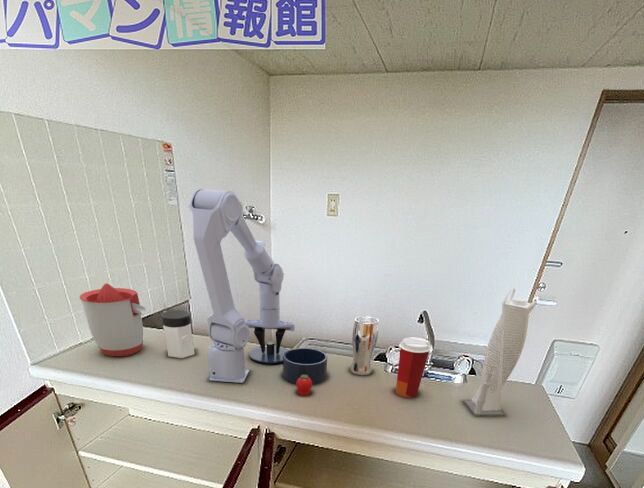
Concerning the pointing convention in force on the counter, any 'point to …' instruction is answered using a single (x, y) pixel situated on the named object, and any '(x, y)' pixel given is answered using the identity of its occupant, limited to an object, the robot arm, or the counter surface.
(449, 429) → the counter surface
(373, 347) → the beer glass
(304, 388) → the strawberry
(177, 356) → the jar
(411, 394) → the paper cup
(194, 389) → the counter surface
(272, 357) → the lid
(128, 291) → the citrus juicer
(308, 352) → the pot
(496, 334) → the skyscraper
